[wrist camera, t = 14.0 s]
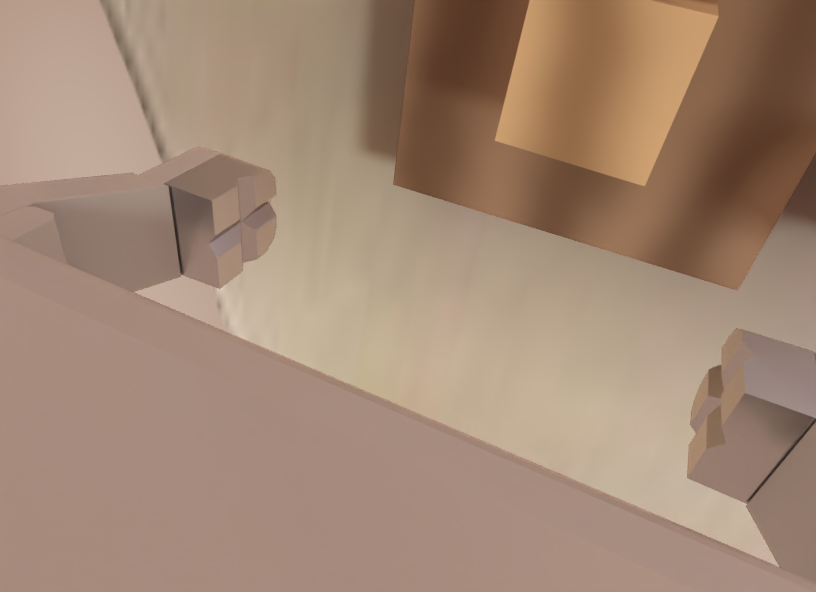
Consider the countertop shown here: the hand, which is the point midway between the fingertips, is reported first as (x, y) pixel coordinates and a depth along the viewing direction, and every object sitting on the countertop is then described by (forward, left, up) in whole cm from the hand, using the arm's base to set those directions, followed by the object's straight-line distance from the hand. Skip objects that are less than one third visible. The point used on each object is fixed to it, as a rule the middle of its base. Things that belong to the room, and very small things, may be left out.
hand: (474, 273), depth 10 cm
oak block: (0, 0, -19) cm, 19 cm away
